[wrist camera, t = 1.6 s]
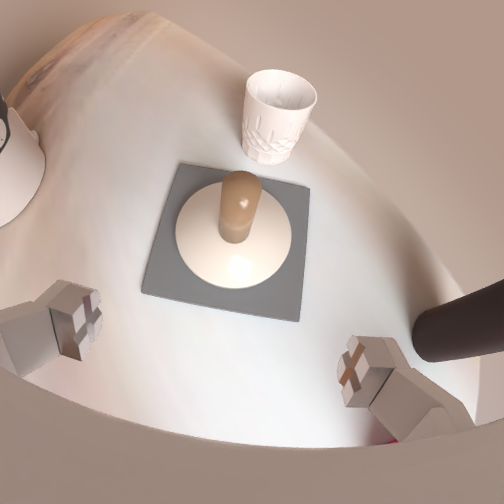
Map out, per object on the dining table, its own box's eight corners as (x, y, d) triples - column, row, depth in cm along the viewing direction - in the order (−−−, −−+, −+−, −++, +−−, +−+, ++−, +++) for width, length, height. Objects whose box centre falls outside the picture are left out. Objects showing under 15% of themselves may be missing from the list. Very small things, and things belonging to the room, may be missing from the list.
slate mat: (142, 293, 28) (141, 291, 28) (180, 166, 35) (179, 163, 34) (297, 322, 30) (299, 321, 29) (308, 191, 36) (310, 188, 35)
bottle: (449, 359, 30) (579, 328, 12) (412, 365, 29) (558, 338, 11) (446, 309, 33) (567, 255, 14) (409, 310, 32) (544, 249, 13)
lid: (164, 277, 29) (147, 241, 20) (191, 179, 33) (188, 124, 25) (282, 298, 30) (310, 271, 21) (292, 198, 34) (316, 148, 26)
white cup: (236, 123, 38) (244, 66, 29) (291, 127, 40) (310, 73, 30) (237, 167, 36) (247, 107, 26) (299, 170, 37) (324, 115, 28)
